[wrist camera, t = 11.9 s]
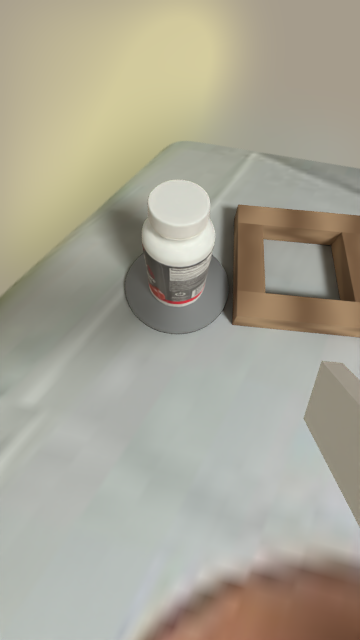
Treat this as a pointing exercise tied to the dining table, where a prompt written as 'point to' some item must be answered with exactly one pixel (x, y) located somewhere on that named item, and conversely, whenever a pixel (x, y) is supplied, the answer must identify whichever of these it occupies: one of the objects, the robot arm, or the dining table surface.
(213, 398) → the dining table surface
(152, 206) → the pill bottle
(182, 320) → the coaster
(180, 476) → the dining table surface
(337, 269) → the pocket
